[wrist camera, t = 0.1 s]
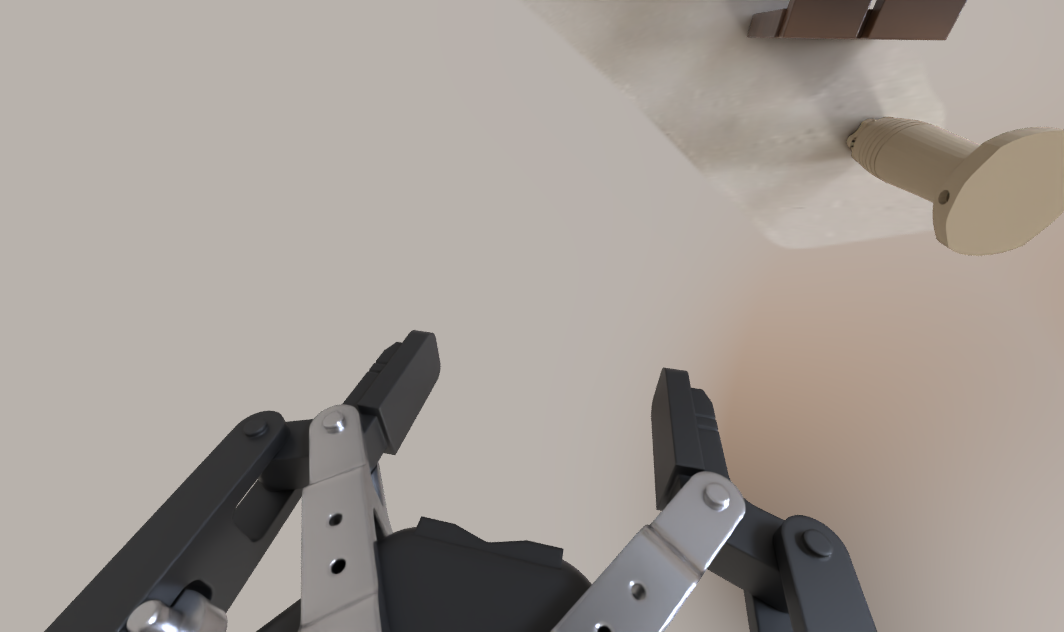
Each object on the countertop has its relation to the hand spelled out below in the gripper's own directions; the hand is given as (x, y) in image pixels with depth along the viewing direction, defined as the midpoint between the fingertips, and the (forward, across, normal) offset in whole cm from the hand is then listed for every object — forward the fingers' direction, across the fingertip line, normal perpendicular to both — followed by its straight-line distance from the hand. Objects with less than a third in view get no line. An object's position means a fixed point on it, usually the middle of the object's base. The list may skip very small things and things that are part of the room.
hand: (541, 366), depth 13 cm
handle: (+30, -22, -3) cm, 37 cm away
